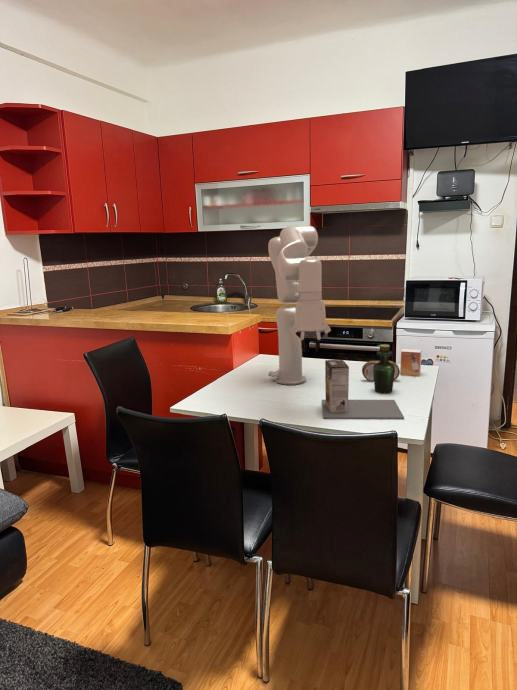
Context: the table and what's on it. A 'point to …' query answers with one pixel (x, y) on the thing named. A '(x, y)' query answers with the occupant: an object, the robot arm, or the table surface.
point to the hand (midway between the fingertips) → (310, 350)
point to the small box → (410, 362)
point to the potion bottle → (384, 371)
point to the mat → (365, 410)
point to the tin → (369, 372)
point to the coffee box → (337, 385)
